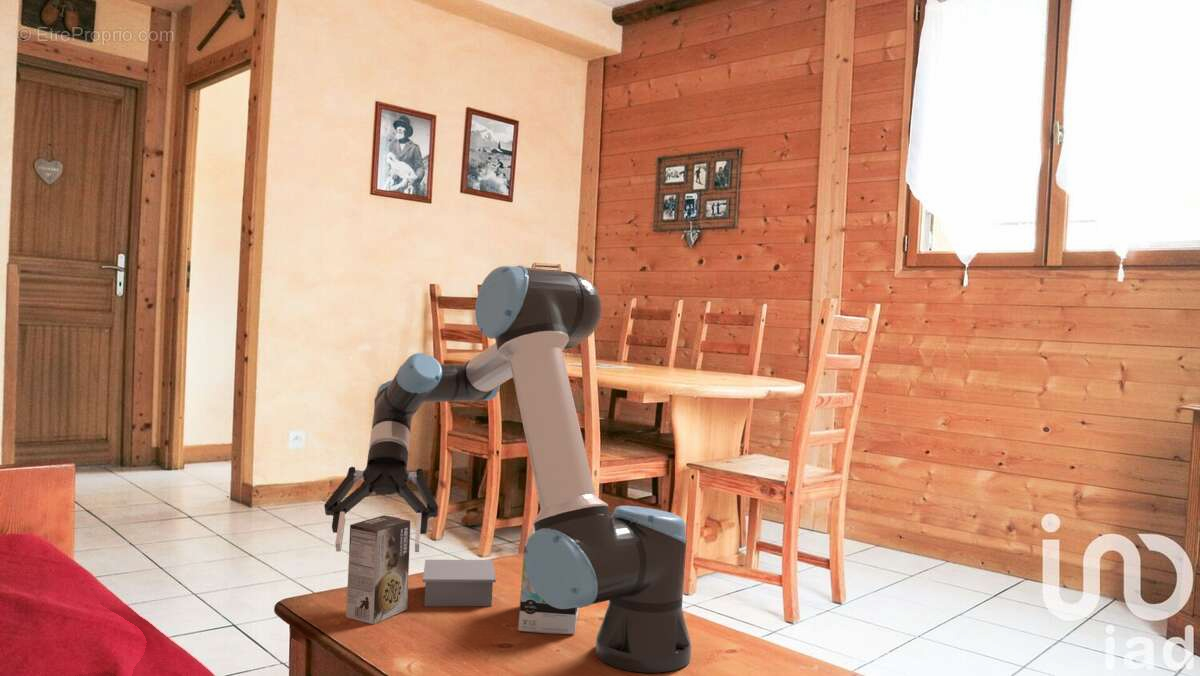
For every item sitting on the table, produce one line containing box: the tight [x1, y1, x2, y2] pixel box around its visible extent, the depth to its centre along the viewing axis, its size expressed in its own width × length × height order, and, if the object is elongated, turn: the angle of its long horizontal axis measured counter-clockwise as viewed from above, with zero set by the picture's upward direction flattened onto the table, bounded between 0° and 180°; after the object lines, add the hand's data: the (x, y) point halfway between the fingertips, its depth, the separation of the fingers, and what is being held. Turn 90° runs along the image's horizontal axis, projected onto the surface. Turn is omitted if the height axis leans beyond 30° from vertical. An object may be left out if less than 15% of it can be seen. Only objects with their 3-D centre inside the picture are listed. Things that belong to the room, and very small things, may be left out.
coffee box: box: [345, 515, 411, 625], centre depth 150 cm, size 9×6×16 cm
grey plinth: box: [422, 559, 497, 607], centre depth 162 cm, size 13×13×5 cm
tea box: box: [517, 526, 580, 635], centre depth 152 cm, size 15×10×15 cm, turn 179°
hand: (377, 548), depth 153 cm, fingers open, 13 cm apart
